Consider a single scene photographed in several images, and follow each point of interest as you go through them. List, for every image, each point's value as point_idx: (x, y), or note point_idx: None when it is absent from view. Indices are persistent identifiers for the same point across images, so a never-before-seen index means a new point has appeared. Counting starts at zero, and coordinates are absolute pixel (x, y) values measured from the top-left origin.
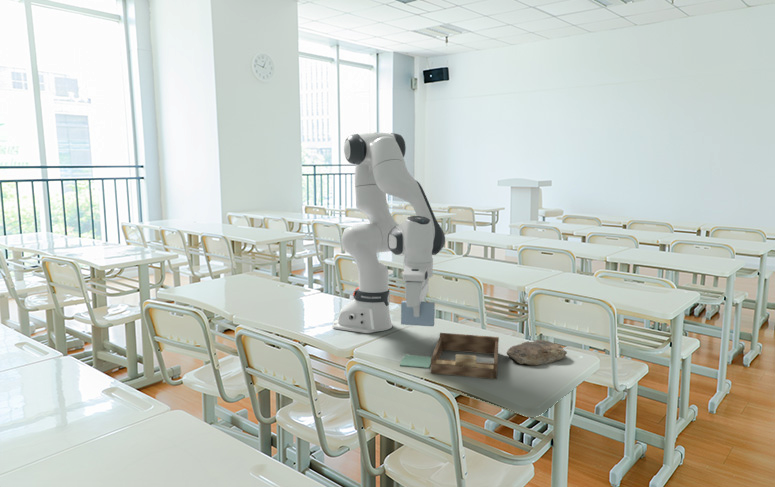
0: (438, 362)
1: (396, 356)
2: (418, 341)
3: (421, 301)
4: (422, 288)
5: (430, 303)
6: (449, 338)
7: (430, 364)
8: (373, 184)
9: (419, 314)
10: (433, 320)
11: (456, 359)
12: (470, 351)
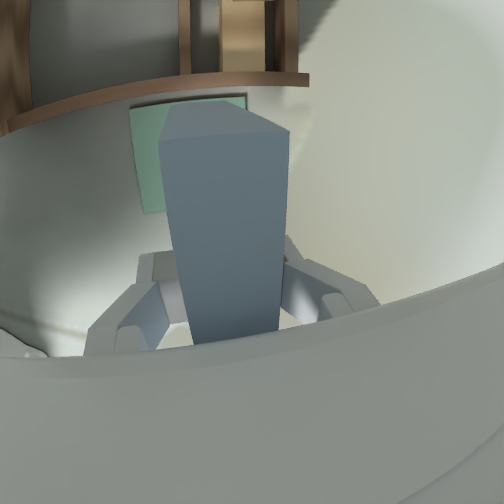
0: (253, 61)
1: (161, 235)
2: (2, 222)
3: (445, 300)
4: (403, 499)
5: (262, 195)
6: (6, 90)
7: (205, 99)
8: None
9: (288, 240)
10: (231, 104)
11: None
12: (28, 14)
